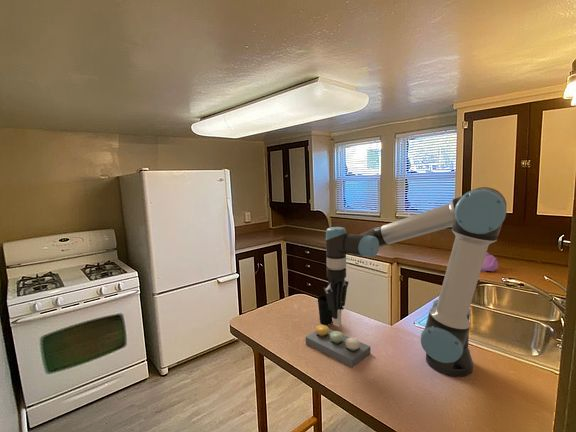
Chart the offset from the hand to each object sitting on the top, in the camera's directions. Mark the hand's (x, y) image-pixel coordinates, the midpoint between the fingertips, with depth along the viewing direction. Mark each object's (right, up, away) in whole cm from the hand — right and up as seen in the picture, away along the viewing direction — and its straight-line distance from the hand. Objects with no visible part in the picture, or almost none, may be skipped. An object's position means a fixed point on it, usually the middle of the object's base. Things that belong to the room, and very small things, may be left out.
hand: (337, 325), depth 122 cm
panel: (0, -10, +1) cm, 10 cm away
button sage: (0, -8, +1) cm, 8 cm away
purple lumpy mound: (+117, +6, +90) cm, 147 cm away
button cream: (+5, -9, -4) cm, 11 cm away
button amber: (-5, -8, +7) cm, 11 cm away
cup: (-2, -7, +23) cm, 24 cm away
